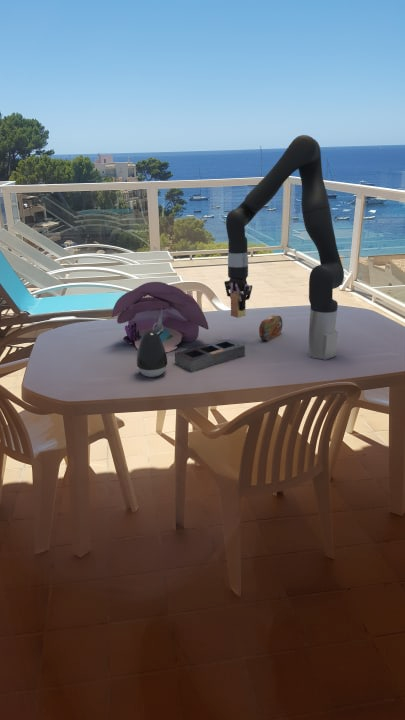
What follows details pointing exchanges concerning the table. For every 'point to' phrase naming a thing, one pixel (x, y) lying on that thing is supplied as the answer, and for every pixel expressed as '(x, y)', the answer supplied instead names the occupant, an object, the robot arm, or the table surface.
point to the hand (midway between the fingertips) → (238, 309)
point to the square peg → (236, 306)
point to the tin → (270, 328)
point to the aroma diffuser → (151, 354)
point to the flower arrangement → (160, 314)
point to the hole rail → (209, 354)
